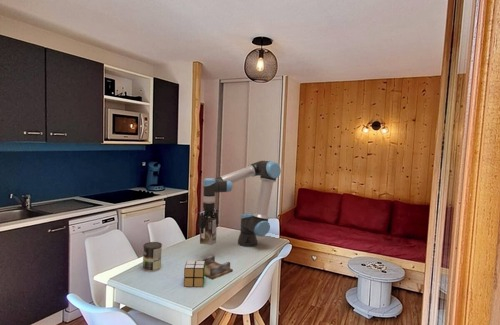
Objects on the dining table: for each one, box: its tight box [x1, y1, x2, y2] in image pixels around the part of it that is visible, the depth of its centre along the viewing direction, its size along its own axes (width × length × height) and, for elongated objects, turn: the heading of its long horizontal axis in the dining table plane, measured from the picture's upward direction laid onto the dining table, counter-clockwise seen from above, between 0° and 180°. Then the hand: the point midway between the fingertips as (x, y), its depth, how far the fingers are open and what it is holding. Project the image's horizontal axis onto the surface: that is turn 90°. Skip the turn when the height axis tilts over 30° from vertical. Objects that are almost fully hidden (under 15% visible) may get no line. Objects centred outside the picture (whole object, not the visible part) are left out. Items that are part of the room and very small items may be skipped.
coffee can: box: [142, 241, 163, 273], centre depth 171 cm, size 10×10×14 cm
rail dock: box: [196, 255, 234, 281], centre depth 172 cm, size 16×18×5 cm
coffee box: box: [199, 217, 218, 246], centre depth 191 cm, size 9×6×16 cm
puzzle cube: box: [183, 260, 206, 288], centre depth 156 cm, size 10×10×10 cm
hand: (208, 236), depth 191 cm, fingers closed on coffee box, 8 cm apart
